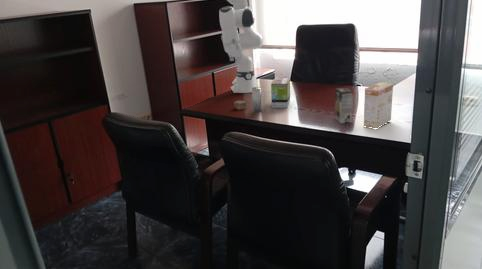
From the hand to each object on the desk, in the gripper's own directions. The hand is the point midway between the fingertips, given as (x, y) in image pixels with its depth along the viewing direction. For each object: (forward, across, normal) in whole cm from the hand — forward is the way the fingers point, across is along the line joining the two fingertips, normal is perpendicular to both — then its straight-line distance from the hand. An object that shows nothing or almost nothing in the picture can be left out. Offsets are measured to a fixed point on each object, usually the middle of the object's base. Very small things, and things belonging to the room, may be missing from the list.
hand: (234, 62), depth 224 cm
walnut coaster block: (+29, +3, 0) cm, 29 cm away
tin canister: (+29, -9, -6) cm, 31 cm away
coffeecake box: (+31, -60, -50) cm, 83 cm away
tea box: (+32, -2, -24) cm, 40 cm away
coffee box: (+30, -46, -39) cm, 68 cm away
